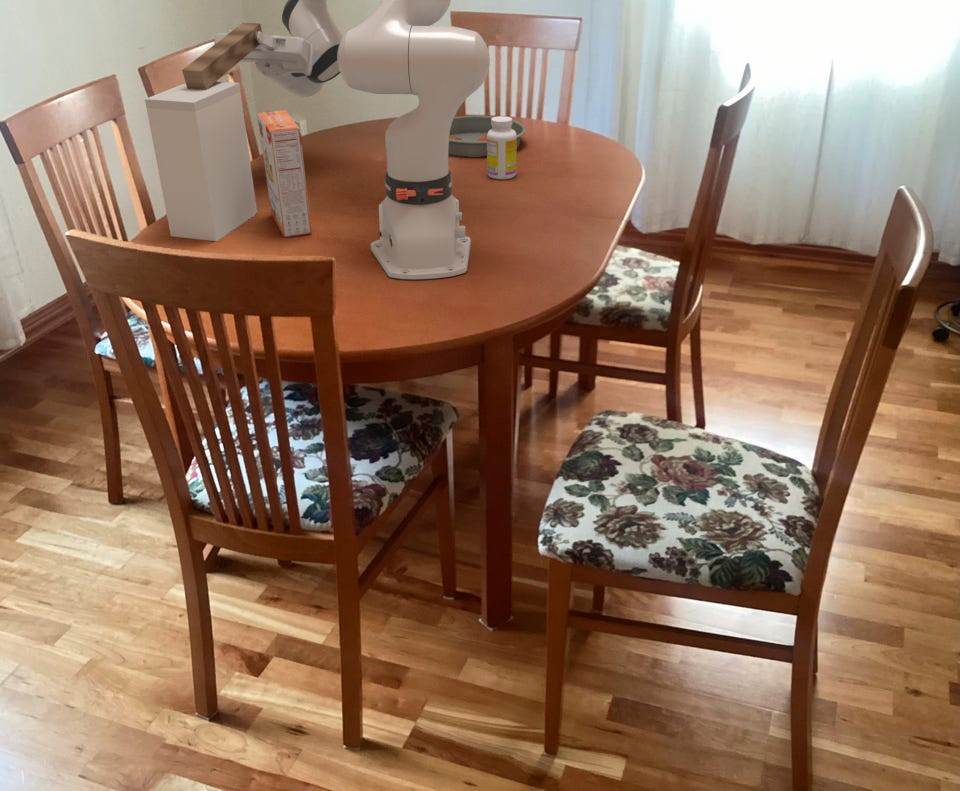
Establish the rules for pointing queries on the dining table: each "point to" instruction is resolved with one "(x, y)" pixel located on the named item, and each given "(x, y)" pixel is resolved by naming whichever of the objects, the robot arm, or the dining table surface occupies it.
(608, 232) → the dining table surface
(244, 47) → the walnut bar
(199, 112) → the grey pedestal
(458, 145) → the cake pan
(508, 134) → the supplement bottle
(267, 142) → the cracker box
